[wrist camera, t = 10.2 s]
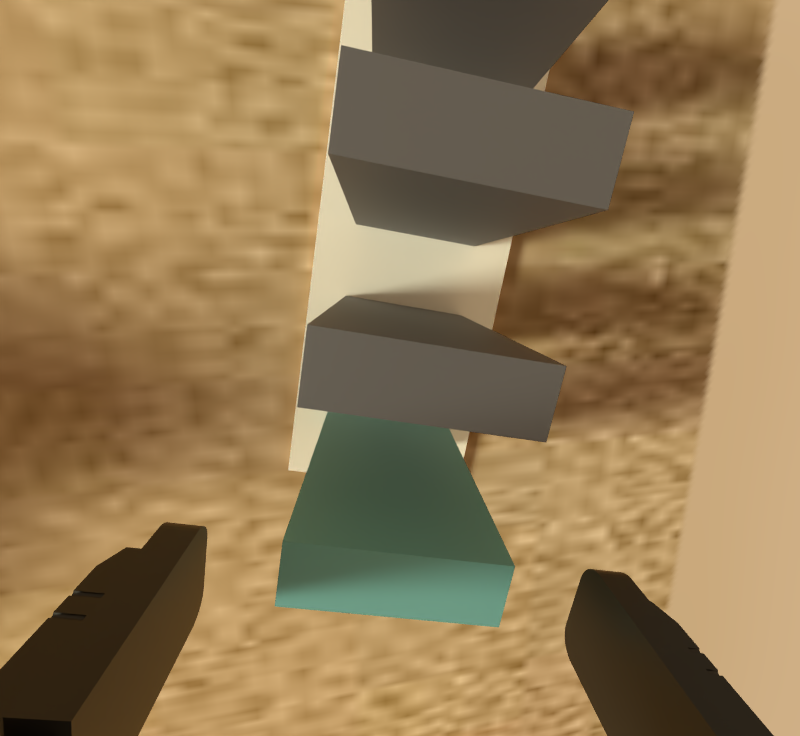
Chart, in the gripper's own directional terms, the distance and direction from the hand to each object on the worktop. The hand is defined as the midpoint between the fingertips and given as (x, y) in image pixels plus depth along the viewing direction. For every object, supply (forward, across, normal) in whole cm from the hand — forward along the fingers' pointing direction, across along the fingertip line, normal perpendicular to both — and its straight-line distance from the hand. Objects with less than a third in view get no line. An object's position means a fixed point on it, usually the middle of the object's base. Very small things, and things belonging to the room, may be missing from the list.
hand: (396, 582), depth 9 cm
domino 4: (+10, 0, -4) cm, 11 cm away
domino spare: (+10, 0, 0) cm, 10 cm away
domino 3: (+10, 0, -9) cm, 13 cm away
